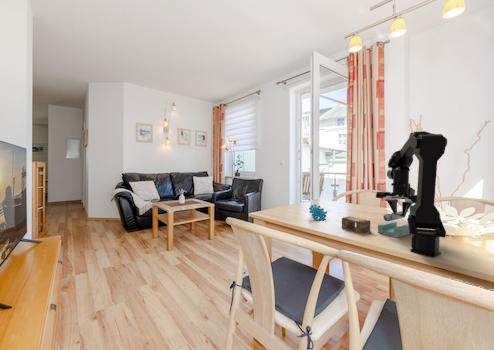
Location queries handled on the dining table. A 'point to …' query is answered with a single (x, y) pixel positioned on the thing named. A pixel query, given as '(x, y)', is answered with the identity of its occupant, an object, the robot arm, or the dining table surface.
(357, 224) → the bearing block
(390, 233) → the cradle
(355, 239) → the dining table surface
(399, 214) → the axle
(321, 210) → the gear
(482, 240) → the dining table surface
